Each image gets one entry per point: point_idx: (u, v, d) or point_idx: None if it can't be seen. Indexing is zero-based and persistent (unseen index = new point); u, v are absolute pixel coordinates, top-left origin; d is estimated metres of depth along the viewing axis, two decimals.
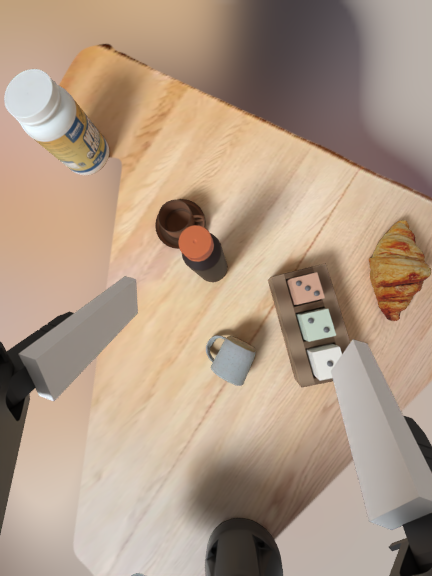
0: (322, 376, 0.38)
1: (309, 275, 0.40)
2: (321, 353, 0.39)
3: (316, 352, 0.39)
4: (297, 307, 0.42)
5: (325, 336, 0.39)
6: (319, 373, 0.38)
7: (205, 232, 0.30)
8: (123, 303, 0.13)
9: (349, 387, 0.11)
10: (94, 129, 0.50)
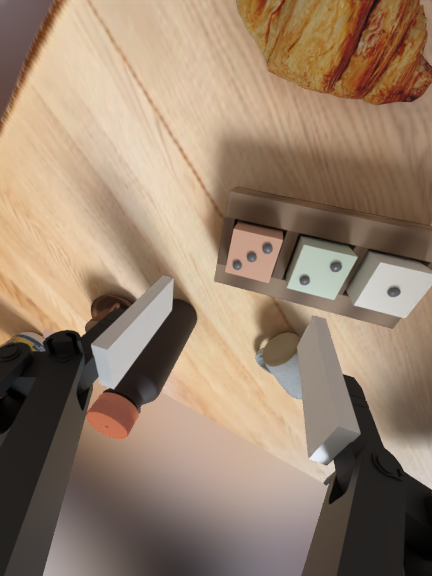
0: (402, 312, 0.21)
1: (233, 243, 0.22)
2: (367, 293, 0.21)
3: (359, 299, 0.22)
4: (275, 272, 0.25)
5: (345, 274, 0.21)
6: (394, 313, 0.22)
7: (96, 414, 0.22)
8: (163, 300, 0.13)
9: (307, 356, 0.12)
10: None
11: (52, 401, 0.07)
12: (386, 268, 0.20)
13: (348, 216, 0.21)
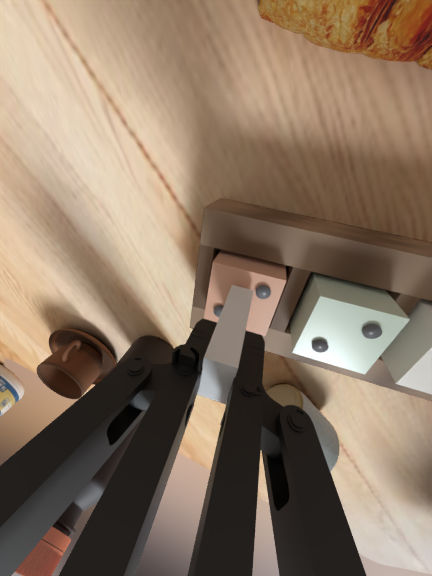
0: None
1: (212, 281, 0.15)
2: (421, 371, 0.14)
3: (405, 376, 0.14)
4: (275, 322, 0.18)
5: (386, 341, 0.13)
6: None
7: None
8: None
9: None
10: None
11: (170, 415, 0.07)
12: None
13: (392, 250, 0.13)
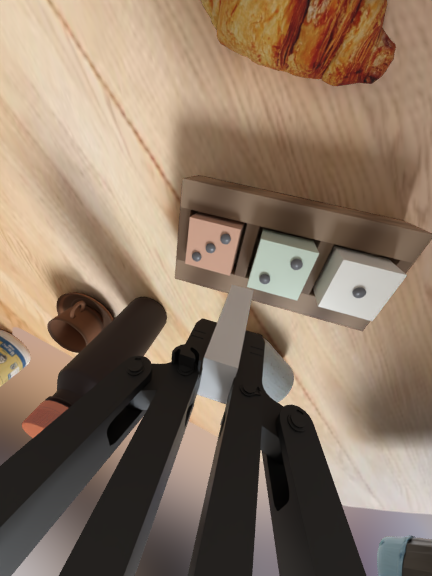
0: (369, 314, 0.20)
1: (190, 232, 0.21)
2: (332, 294, 0.20)
3: (323, 299, 0.20)
4: (238, 269, 0.23)
5: (307, 272, 0.19)
6: (360, 315, 0.20)
7: (31, 425, 0.19)
8: None
9: None
10: None
11: (170, 415, 0.07)
12: (350, 266, 0.18)
13: (311, 208, 0.19)
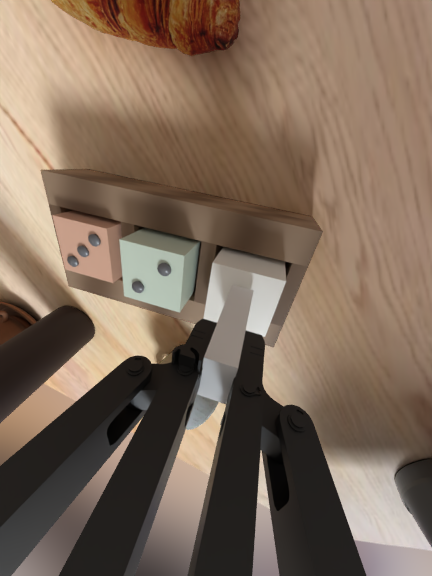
0: (259, 328, 0.16)
1: (58, 233, 0.18)
2: (213, 304, 0.16)
3: (206, 311, 0.17)
4: None
5: (179, 278, 0.16)
6: (250, 329, 0.16)
7: None
8: None
9: None
10: None
11: (170, 415, 0.07)
12: (222, 271, 0.15)
13: (180, 201, 0.16)
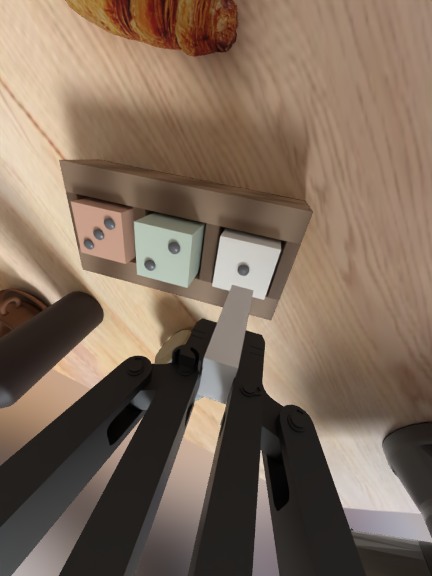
0: (259, 292, 0.19)
1: (76, 218, 0.20)
2: (220, 272, 0.19)
3: (214, 279, 0.20)
4: None
5: (187, 256, 0.18)
6: None
7: None
8: None
9: None
10: None
11: (170, 415, 0.07)
12: (228, 242, 0.18)
13: (187, 187, 0.17)
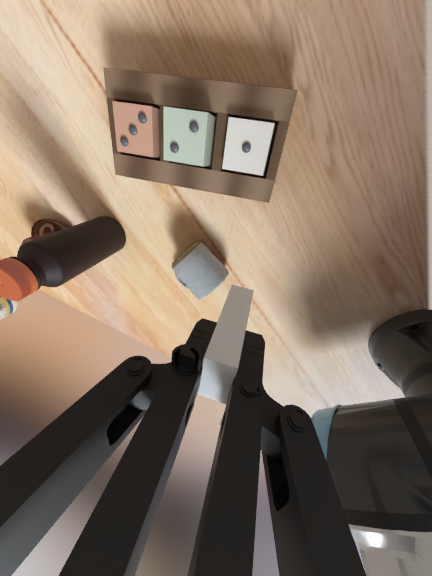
0: (259, 168, 0.25)
1: (115, 117, 0.26)
2: (228, 153, 0.25)
3: (224, 161, 0.26)
4: (162, 154, 0.28)
5: (203, 133, 0.23)
6: (253, 171, 0.25)
7: None
8: None
9: None
10: None
11: (170, 415, 0.07)
12: (234, 122, 0.23)
13: (203, 80, 0.23)
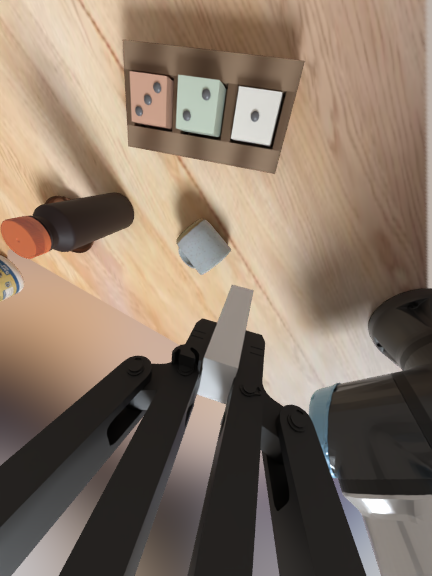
0: (266, 137, 0.26)
1: (131, 87, 0.27)
2: (238, 122, 0.26)
3: (233, 130, 0.27)
4: (174, 125, 0.29)
5: (215, 101, 0.25)
6: (260, 140, 0.27)
7: (7, 224, 0.25)
8: None
9: None
10: None
11: (170, 415, 0.07)
12: (244, 92, 0.25)
13: (216, 51, 0.25)
